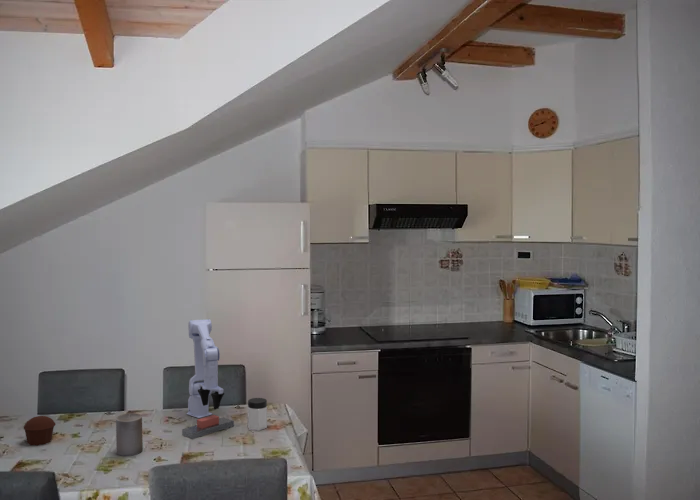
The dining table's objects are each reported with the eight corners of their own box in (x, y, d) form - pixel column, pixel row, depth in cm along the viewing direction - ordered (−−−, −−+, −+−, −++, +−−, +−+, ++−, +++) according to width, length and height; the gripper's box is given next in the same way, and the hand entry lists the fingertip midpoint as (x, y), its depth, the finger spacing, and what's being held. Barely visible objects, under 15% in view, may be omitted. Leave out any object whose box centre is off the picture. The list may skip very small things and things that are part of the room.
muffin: (20, 447, 255) (20, 422, 255) (26, 438, 266) (26, 414, 265) (53, 445, 258) (53, 420, 258) (58, 436, 269) (57, 412, 268)
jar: (246, 424, 287) (246, 398, 287) (264, 423, 290) (265, 396, 289) (249, 431, 279) (249, 403, 278) (268, 429, 281) (268, 402, 280)
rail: (182, 435, 273) (182, 429, 272) (223, 422, 289) (223, 417, 289) (192, 439, 268) (192, 433, 268) (233, 426, 285) (233, 420, 285)
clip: (196, 431, 276) (196, 419, 276) (213, 426, 283) (213, 414, 283) (202, 433, 274) (202, 421, 274) (218, 427, 281) (219, 416, 281)
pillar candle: (133, 445, 260) (133, 408, 259) (147, 451, 254) (147, 413, 253) (111, 452, 252) (110, 414, 251) (125, 458, 246) (124, 419, 245)
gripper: (192, 374, 281) (192, 405, 281) (214, 380, 271) (213, 412, 272) (206, 371, 286) (206, 402, 287) (227, 377, 277) (227, 408, 277)
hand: (210, 407), depth 280 cm, fingers open, 7 cm apart
